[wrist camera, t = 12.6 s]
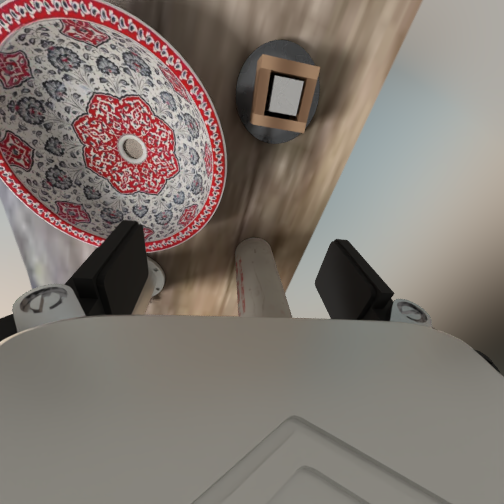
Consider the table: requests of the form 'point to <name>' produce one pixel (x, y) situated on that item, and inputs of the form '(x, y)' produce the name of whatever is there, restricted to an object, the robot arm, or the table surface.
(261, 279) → the thermos bottle
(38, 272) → the table surface
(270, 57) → the hollow wooden square
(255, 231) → the table surface
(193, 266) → the table surface
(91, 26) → the ceramic bowl
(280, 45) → the post base
